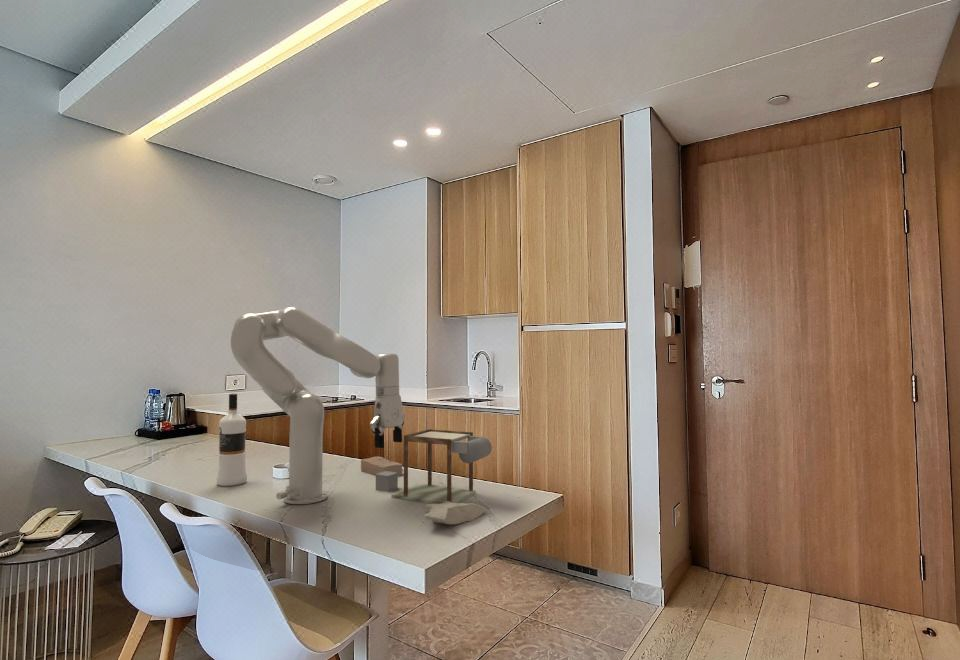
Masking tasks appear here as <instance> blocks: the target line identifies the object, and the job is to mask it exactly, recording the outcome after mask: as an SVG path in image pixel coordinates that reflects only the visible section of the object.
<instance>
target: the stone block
mask: <svg viewBox="0 0 960 660" xmlns="http://www.w3.org/2000/svg"><path fill="white" fill-rule="evenodd" d="M398 484H399V476H398V473H397V472H389V471H384V472H381V473H378V474H376V476H375V491H381V492H391V491H394V490H397V489H398Z"/></svg>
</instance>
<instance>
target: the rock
mask: <svg viewBox="0 0 960 660" xmlns="http://www.w3.org/2000/svg"><path fill="white" fill-rule="evenodd" d="M426 510H427V513H425V514H423V517H424V519H426V520H430V521H432V522H434V523H436V524H444V525H458V524H462V523H465V522H472V521H474V520H475V518H476V519H478V518H480V517H481V516H482V515H483V514H485V512H486V511H487V508H486V507H485V506H483V505H479V504H477V503H475V502H474V503H473V502H472V503H464V502H459V503H451V502H445V503H441V504H433V503H426ZM471 520H472V521H471Z"/></svg>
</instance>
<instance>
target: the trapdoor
mask: <svg viewBox="0 0 960 660" xmlns="http://www.w3.org/2000/svg"><path fill="white" fill-rule="evenodd" d="M416 436H419V437H431V438H443V439H451V453H455V454H458V456H459V459H460V461H462V462H463V463H465V464H469V463H472V462H473V463H474V462H476V461H479V460H482V459H484V458H486V457H488V456H490V454H491V452H492V450H493V445H492V442H491V441H490V440H489V439H488V438H487V437H484V436H479V435H478V436H476V435H475V436H474V435H473V436H471V435H470V434H457V433H444V432H431V431H430V432H427V433H423V434H419V435H416ZM465 439H467V441H463V440H465Z"/></svg>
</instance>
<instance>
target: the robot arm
mask: <svg viewBox="0 0 960 660" xmlns="http://www.w3.org/2000/svg"><path fill="white" fill-rule="evenodd" d="M283 337H289V338H291V340H292V339H293V340H294V341H296V342H297V343H299V344H301V345H302V346H304V347H305V348H308V349H309V350H311V351H312V352H314V353H315V354H318V355H319V356H321V357H324V358H327V359H330V360H333V361H335V362H337V363H339V364H340V365H342V366H345V367H346V368H347V369H349V370H350V372H351V374H353V376H356V377H358V378H363V379H372V378H374V377H375V400H374V410H373V411H374V412H373V414H374V415H373V419H372V420H371V421H370V423H369V425H370V428H371V432H372V433H373V436H374V447H375V448H376V449H384V448H385V435H384V432H385V429H391V428H393V430H392V441H393V443H402V442H403V429H404V427H403V426H404V424H405V418H406V415H405V414H404V411H403V409H404V408H403V402H402V396H401V395H400V372H399V371H400V370H399V368H400V367H399V364H400V363H399V356H398V355H397V353H379V354H374V353H372V352H370V351H369V350H367V349H365V348H364V347H363V346H361V345H359V344H357V343H355V342H354V341H352V340H351V339H348V338H347V337H345V336H344V335H342V334H340V333H339V332H337V331H335V330H333V329H331V328H330V327H329V326H326V325H325V324H323V323H322V322H320V321H318V320H317V319H315V318H313V316H310V315H309V314H307V313H306V312H304V311H302V310H301V309H299V308H297V307H294V306H288V307H285V308H282V309H279V310H274V311H267V312H262V313H261V312H260V313H253V312H247V313H244V314H241V315H240V316H239V317H238V318H237V319H236V320H235V321H234V324H233V329H232V332H231V336H230V348H231V351H232V355H233V357H234V359H235V360H236V361H237V364H239V365H240V367H241V368H242V369H243V370H244V371H245V372H246V373H247V374H248V375H249V376H250V377H251V379H253V381H255V382H256V383H257V384H258V385H259V386H260V387H261V390H262V392H263V393H264V394H265V395H267V397H269V399H271V400H272V401H273V402H274V403H275V404H276V405H277V406H278V407H279V408H280V409H281V410H282V411H284V412H285V414H286V415H288V416H289V417H290V418H289V419H290V421H289V422H290V423H289V435H288V436H289V441H288V442H289V449H288V450H289V454H288V455H289V456H288V457H289V458H288V459H289V460H288V461H289V463H288V464H289V465H288V466H289V469H288V471H289V473H288V475H289V476H288V477H289V479H288V485H286V489H285V490H284V491H280V492H277V493H276V495H275V497H276V499H277V500H278V501H280V500H282V499H283V502H284V503H286V504H291V505H308V504H315V503H319V502H322V501H324V500H326V499H327V498H328V491H325V490H323V456H324V455H323V454H324V453H323V449H324V448H323V447H324V446H323V443H324V442H323V439H324V438H323V433H324V431H323V430H324V420H325V407H324V403H323V401H322V399H320V397H319V396H317V395H316V394H314V393H312V392H310V390H308V389H307V388H306V387H305V386H304V384H302V383H301V382H300V381H299V380H298V379H297V378H296V376H295V374H294V373H293V372H292V371H291V370H289V369H288V368H287V367H286V366H284V365H283V363H281V362H280V361H279V360H278V359H277V358H276V357H275V355H273V353H272V352H270V351H269V349H267V347H266V346H265V343H264V341H267V340H268V341H269V340H273V339H279V338H283Z"/></svg>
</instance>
